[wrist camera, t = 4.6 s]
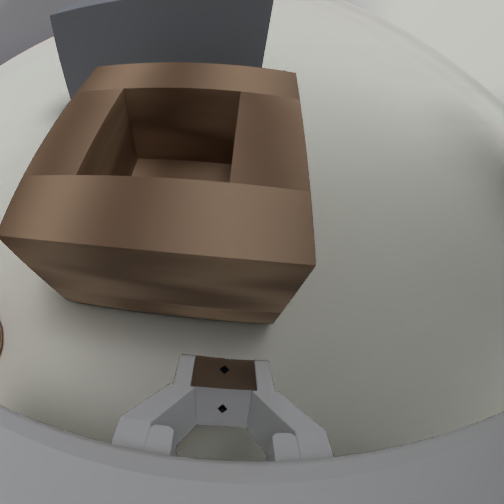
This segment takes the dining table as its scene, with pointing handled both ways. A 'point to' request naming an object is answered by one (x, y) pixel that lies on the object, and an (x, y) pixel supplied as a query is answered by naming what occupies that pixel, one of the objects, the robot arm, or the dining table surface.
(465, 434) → the robot arm
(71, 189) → the socket block
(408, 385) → the dining table surface
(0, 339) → the dowel
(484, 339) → the dining table surface
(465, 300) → the dining table surface
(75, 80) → the wall
